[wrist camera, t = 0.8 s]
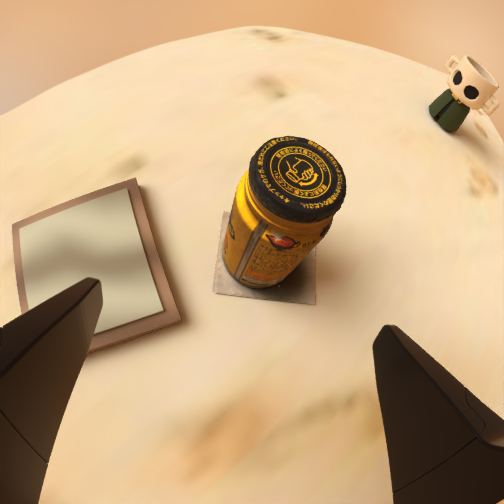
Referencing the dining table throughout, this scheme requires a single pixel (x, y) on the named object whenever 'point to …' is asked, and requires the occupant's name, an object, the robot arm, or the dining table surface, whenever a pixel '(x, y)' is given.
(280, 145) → the condiment
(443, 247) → the dining table surface
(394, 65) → the dining table surface
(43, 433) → the robot arm
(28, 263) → the plinth
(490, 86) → the character mug
